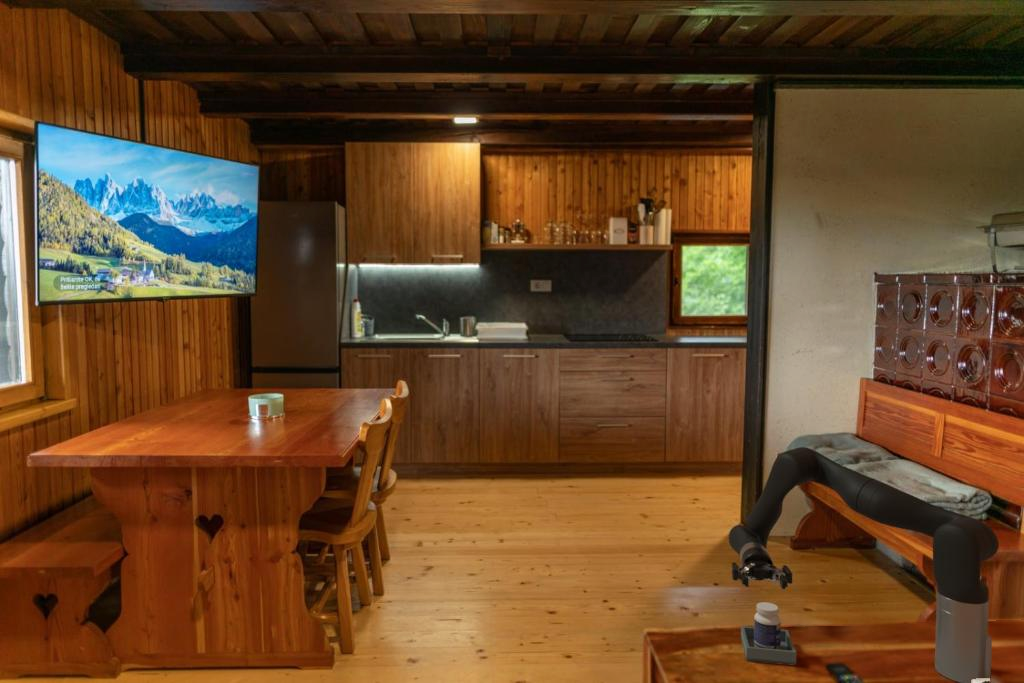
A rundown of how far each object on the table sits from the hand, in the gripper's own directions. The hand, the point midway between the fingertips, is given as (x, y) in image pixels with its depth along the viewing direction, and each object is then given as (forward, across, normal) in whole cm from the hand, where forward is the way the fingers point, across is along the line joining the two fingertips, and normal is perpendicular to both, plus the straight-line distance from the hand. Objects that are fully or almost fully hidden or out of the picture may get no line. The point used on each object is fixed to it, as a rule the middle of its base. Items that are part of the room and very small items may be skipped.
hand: (765, 584), depth 166 cm
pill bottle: (+11, -1, +11) cm, 16 cm away
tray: (+11, -1, +11) cm, 16 cm away
